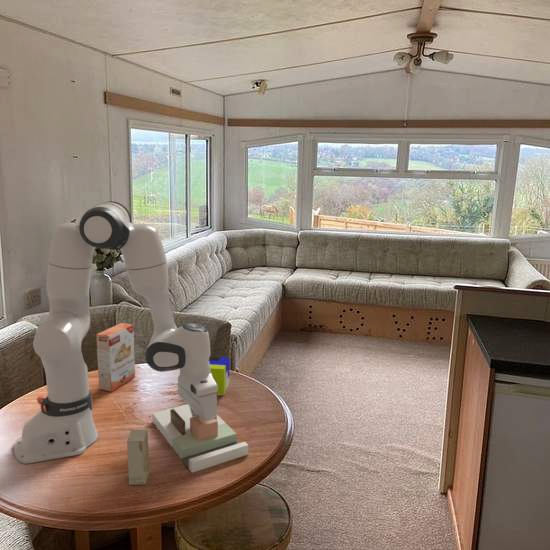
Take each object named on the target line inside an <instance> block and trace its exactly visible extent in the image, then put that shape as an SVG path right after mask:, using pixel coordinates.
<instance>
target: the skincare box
mask: <svg viewBox="0 0 550 550" xmlns="http://www.w3.org/2000/svg"><path fill="white" fill-rule="evenodd" d="M148 431H149V430H148V429H131V430H130V433H129V436H128V438H127V440H126V449H127V468H128V471H127V472H128V484H129V485H130V486H131V485H132V486H133V485H134V486H135V485H137V486H139V485H146V484H147V481H148V478H149V474H150V459H149V458H150V457H149V456H150V455H149V434H148Z"/></svg>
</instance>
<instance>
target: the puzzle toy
mask: <svg viewBox="0 0 550 550" xmlns="http://www.w3.org/2000/svg"><path fill="white" fill-rule="evenodd" d="M209 363H210V367H211V373H212V376H213V379H214V381H215V382H216V384H217V386H218V391H217V392H215V393H216V394H225V395H226V392H227V390H228V388H227V387H229V385H230V357H219V356H218V357H217V356H216V357H215V356H210V357H209ZM226 389H227V390H226ZM225 391H226V392H225Z"/></svg>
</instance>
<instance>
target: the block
mask: <svg viewBox="0 0 550 550" xmlns="http://www.w3.org/2000/svg"><path fill="white" fill-rule="evenodd" d="M190 432H191V433H192V434H193V436H194V437H195V438H196V439H197V440H198V441H202V440H205V439H208V438H212V437H215V436H218V421H217V420H216V419H212V420H209V421H204V420H203V419H202V418H201V417H200V416H195V417H191V418H190Z"/></svg>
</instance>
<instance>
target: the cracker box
mask: <svg viewBox="0 0 550 550" xmlns="http://www.w3.org/2000/svg"><path fill="white" fill-rule="evenodd" d="M134 332H135V331H134V325H133V324H130V323H123V322H120V323H118V324H115V325H114V326H111V327H109V328H107V329H105V330H103V331H101V332H98V333H96V353H97V354H96V355H97V357H96V358H97V371H98V373H97V374H98V388H99V390H101V391H106V392H111V393H112V392H114V391H115V390H117V389H118V388H120V387H122V386H123V385H125V384H126V383H128V382H130V381H131V380H133V379H134V378H135V377H136V370H135V369H136V367H135V336H134V334H135V333H134Z"/></svg>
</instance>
